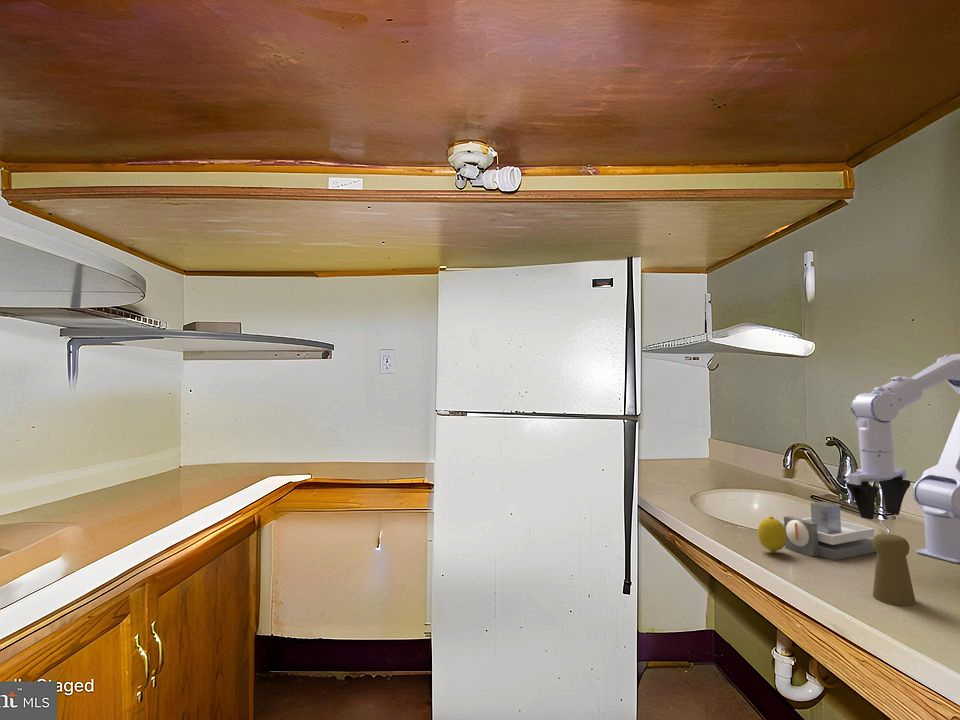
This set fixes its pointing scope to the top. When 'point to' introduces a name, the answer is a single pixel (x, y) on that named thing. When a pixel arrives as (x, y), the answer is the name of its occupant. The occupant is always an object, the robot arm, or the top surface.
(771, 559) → the top surface
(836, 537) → the kitchen scale
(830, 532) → the steel block
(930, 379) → the robot arm
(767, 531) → the lemon
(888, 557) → the cork
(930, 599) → the top surface
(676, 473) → the top surface
